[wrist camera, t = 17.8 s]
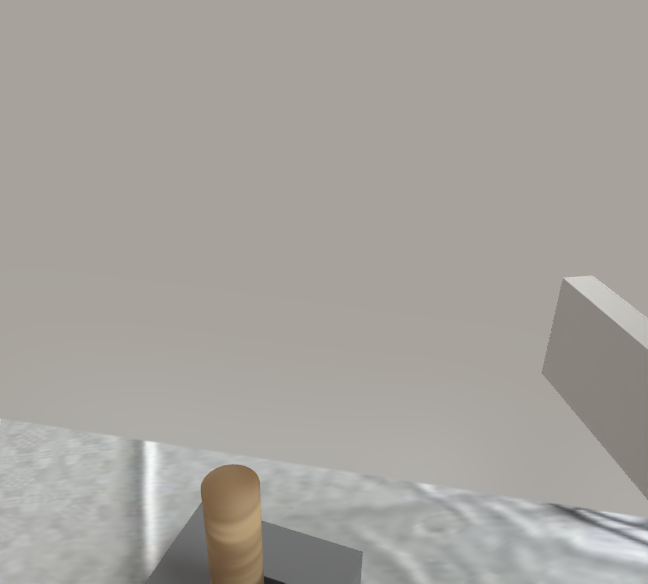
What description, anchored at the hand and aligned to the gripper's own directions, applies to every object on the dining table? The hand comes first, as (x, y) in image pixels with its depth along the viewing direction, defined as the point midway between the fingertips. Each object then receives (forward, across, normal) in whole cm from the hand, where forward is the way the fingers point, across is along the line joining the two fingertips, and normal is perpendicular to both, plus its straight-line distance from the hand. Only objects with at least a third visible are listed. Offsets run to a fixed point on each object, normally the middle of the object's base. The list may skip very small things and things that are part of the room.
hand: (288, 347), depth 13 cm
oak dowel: (+16, -2, -35) cm, 38 cm away
